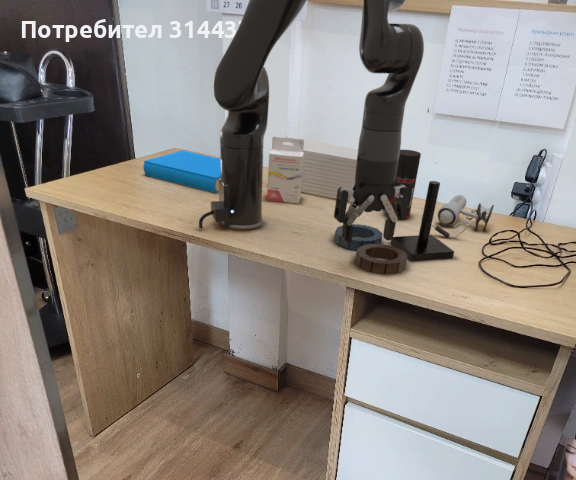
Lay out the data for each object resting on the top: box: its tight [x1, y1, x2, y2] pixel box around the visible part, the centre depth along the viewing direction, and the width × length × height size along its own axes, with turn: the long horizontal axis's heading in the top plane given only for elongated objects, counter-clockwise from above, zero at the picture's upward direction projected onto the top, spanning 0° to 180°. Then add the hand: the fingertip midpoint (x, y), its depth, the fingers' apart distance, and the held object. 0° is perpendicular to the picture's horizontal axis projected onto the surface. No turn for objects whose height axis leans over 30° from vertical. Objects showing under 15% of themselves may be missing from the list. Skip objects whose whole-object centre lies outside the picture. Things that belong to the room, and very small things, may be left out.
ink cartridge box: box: [266, 136, 305, 204], centre depth 140 cm, size 9×5×15 cm, turn 84°
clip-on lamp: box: [431, 194, 495, 239], centre depth 131 cm, size 12×6×18 cm
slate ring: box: [333, 223, 383, 251], centre depth 122 cm, size 10×10×2 cm
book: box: [143, 149, 221, 194], centre depth 155 cm, size 17×4×25 cm
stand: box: [390, 180, 455, 262], centre depth 116 cm, size 10×10×14 cm
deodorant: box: [389, 149, 422, 221], centre depth 134 cm, size 6×6×15 cm
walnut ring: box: [354, 243, 408, 275], centre depth 113 cm, size 10×10×2 cm
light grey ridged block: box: [282, 139, 358, 203], centre depth 149 cm, size 32×11×11 cm, turn 63°
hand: (367, 240), depth 109 cm, fingers open, 8 cm apart
